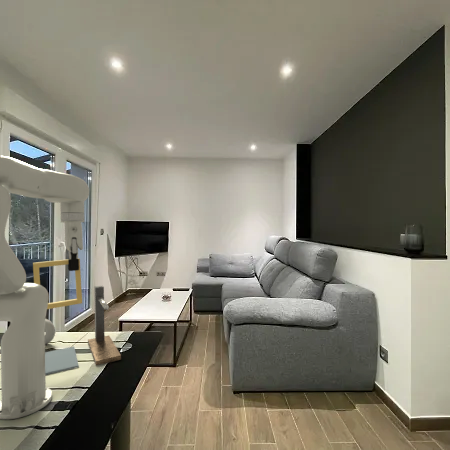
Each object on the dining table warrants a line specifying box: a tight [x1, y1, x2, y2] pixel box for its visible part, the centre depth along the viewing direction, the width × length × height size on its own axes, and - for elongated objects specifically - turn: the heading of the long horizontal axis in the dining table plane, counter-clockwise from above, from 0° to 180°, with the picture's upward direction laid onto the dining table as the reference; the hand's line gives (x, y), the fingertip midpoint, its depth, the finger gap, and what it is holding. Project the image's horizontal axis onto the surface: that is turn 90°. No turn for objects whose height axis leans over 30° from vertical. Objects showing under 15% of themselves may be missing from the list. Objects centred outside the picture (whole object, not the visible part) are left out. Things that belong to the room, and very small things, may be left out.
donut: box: [45, 318, 56, 345], centre depth 117 cm, size 10×4×10 cm, turn 76°
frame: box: [32, 257, 83, 310], centre depth 102 cm, size 2×14×16 cm, turn 122°
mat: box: [45, 346, 79, 376], centre depth 102 cm, size 18×12×1 cm, turn 31°
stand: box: [87, 285, 122, 366], centre depth 109 cm, size 22×8×22 cm, turn 31°
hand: (73, 269), depth 105 cm, fingers closed on frame, 1 cm apart
